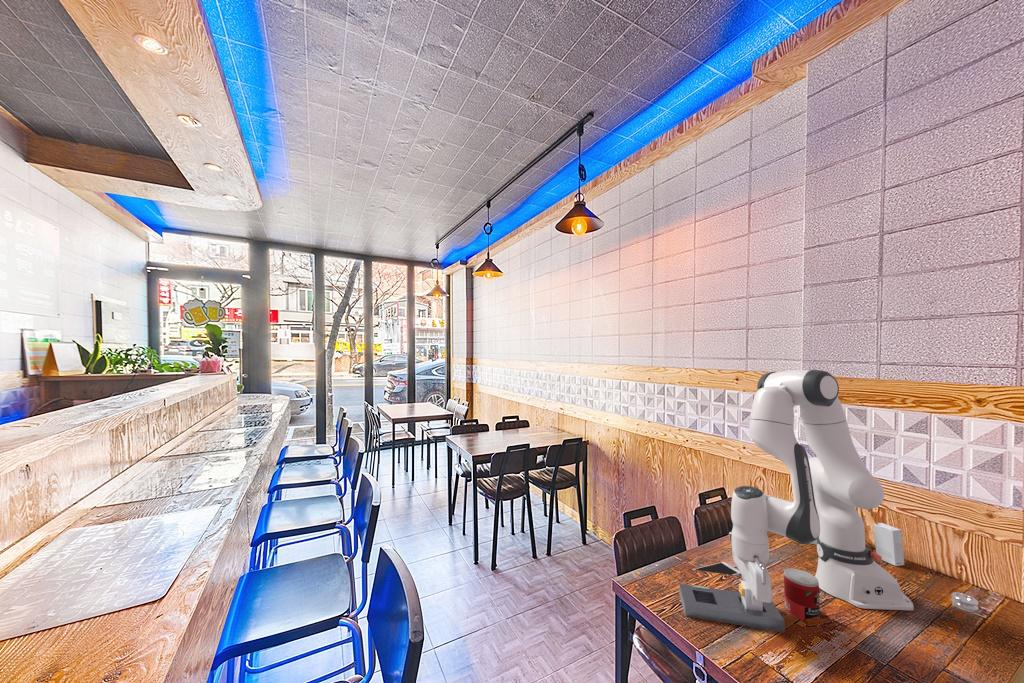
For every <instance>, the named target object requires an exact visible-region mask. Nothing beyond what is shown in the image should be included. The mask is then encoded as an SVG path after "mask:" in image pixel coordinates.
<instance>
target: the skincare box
mask: <svg viewBox="0 0 1024 683" xmlns="http://www.w3.org/2000/svg"><path fill="white" fill-rule="evenodd" d="M873 531H874V544H875V552H876V553H877V554H879V555H880V556H881V558H882V560H881V561H883V562H886V563H888V564H891V565H893V566H894V567H900V566H904V565H905V556H904V547H903V546H904V545H903V544H904V543H903V532H902V529H900V528H897V527H894V526H891V525H889V524H886V523H884V522H878V523H874V524H873Z"/></svg>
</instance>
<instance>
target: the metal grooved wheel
mask: <svg viewBox="0 0 1024 683" xmlns="http://www.w3.org/2000/svg"><path fill="white" fill-rule="evenodd" d="M950 595H951V604H952V605H953V606H955V607H956V608H957V609H960V610H962V611H964V612H965V611H966V612H969V613H974V614H975V613H979V612H980V608H979V607H978V606H979V601H978V600H977V599H976V598H974V597H972V596H971V595H968V594H965V593H962V592H959V591H958V592H955V591H954V592H952V593H951V594H950Z"/></svg>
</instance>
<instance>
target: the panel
mask: <svg viewBox="0 0 1024 683" xmlns="http://www.w3.org/2000/svg"><path fill="white" fill-rule="evenodd" d="M678 589H679V590H678V594H679V598H680V602H681V605H682V609H683V614H684V616H685V617H689V618H695V619H701V620H708V621H714V622H720V623H725V624H726V623H727V624H733V625H739V626H745V627H751V628H758V629H763V630H768V631H775V632H781V633H785V632H786V628H785V627H786V626H785V618H784V617H783V615H782V614H781V613H780V611H779V610H778V609H779V608H777V606H776V605H775V603H774V602H773V601H772V602H771V603H765V602H763V612H761V611H754V610H748V609H744V608H743V606H742V598H741V594H740V592H739V591H734V590H733V591H732V590H726V589H718V588H711V587H707V586H699V585H695V584H693V585H691V584H684V583H679V584H678Z"/></svg>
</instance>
